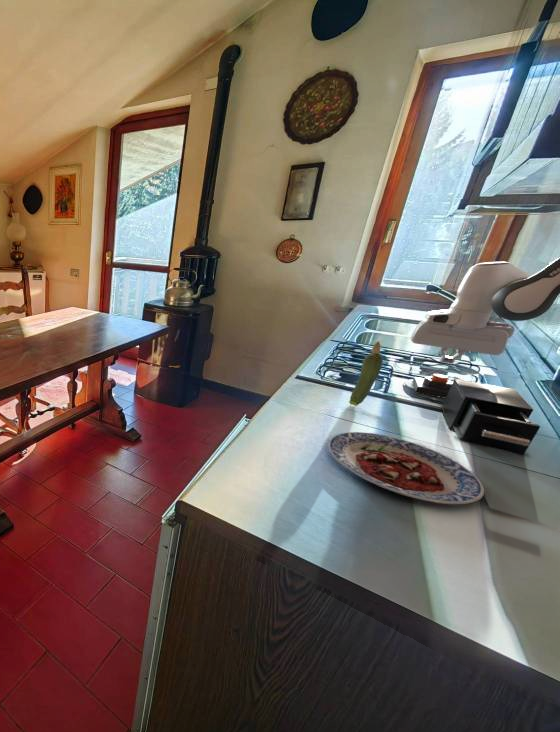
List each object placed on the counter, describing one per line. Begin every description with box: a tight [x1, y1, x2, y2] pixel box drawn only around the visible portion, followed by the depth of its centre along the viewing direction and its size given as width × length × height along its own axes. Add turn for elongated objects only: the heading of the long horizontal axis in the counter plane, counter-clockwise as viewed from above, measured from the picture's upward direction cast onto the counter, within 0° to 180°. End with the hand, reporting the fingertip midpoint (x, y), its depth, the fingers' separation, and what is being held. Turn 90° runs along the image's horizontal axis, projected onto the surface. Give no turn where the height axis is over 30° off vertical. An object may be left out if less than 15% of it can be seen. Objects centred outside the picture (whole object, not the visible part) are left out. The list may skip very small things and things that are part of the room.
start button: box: [431, 373, 450, 383], centre depth 122 cm, size 4×4×2 cm
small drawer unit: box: [456, 400, 541, 456], centre depth 94 cm, size 18×10×8 cm, turn 144°
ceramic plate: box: [328, 431, 485, 505], centre depth 84 cm, size 26×26×3 cm
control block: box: [411, 375, 454, 399], centre depth 123 cm, size 10×10×4 cm
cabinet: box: [440, 378, 534, 432], centre depth 102 cm, size 15×12×10 cm
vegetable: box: [348, 340, 384, 407], centre depth 110 cm, size 4×4×20 cm
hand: (446, 362), depth 120 cm, fingers closed
